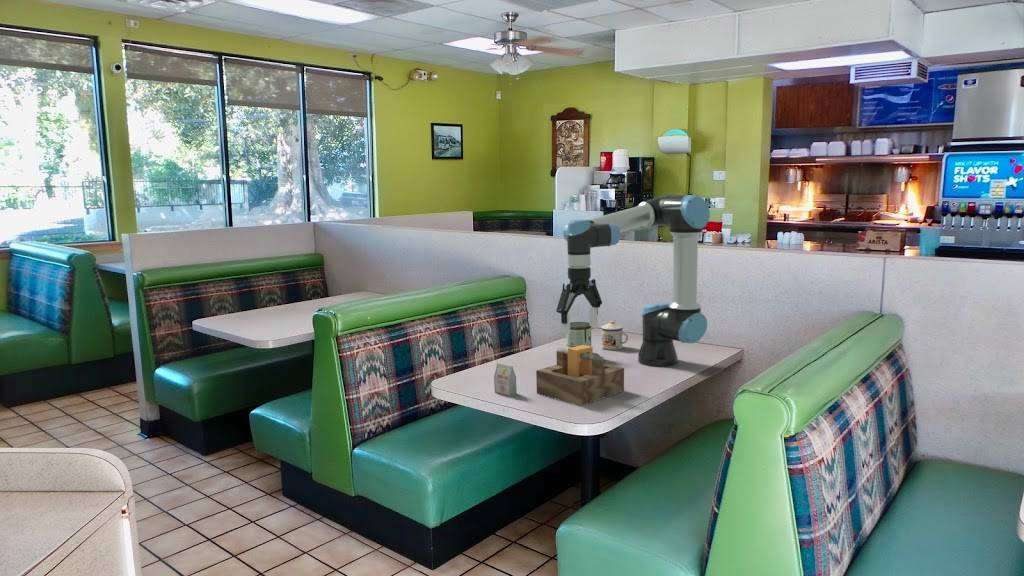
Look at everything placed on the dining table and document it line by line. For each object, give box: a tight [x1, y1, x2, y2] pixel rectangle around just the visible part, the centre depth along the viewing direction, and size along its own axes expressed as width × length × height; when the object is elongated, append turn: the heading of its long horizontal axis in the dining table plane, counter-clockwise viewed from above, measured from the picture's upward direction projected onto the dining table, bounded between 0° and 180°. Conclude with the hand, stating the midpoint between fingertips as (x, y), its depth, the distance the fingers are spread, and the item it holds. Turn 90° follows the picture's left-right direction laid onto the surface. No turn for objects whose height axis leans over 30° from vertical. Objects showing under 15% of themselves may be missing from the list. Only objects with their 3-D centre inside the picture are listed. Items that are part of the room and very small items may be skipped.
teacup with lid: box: [601, 320, 629, 351], centre depth 297 cm, size 12×9×12 cm
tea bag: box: [493, 362, 518, 397], centre depth 239 cm, size 4×7×10 cm, turn 49°
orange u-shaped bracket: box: [568, 345, 594, 378], centre depth 237 cm, size 8×4×10 cm, turn 133°
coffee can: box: [565, 321, 593, 349], centre depth 282 cm, size 10×10×14 cm
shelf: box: [535, 347, 625, 407], centre depth 238 cm, size 22×20×14 cm
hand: (580, 329), depth 235 cm, fingers open, 13 cm apart
